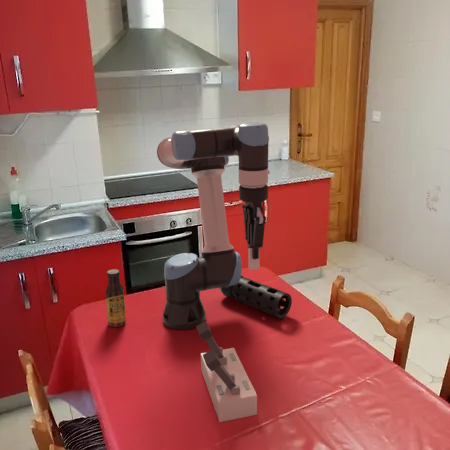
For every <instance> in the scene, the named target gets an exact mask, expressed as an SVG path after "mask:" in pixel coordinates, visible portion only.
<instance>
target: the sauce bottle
mask: <svg viewBox="0 0 450 450" xmlns="http://www.w3.org/2000/svg"><path fill="white" fill-rule="evenodd" d="M106 275H107V281H108V284H107V287H106V289H105V305H106V316H107V317H106V319H107V323H108V325H109V326H110V327H112V328H116V327H117V328H119V327H121V326H123V325H125V323H126V318H127V317H126V302H125V292H124V286H123V285H122V284H121V281H120V270H119V269H117V268H115V269H114V268H113V269H109V270H107V272H106Z"/></svg>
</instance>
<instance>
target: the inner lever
mask: <svg viewBox="0 0 450 450" xmlns="http://www.w3.org/2000/svg"><path fill="white" fill-rule="evenodd" d="M196 330H197V332H198V335H199V336H200V338H201V340H202V342H204V341H205V342H206V344H207V345H208V347H209V348H210V350H211V349H213V350H214V351H215V352H216V354H217V355H218V357H219V358H222V357H224V356H223V354H222V352H221V350H220V348H219V345H218V343H217V342H216V340H215V339H214V337H213V333H212V330H211V328H210V326H209V324H208V323H207V321H206V320H205V321H204V322H203V323H201V324H200V325H198V326H196Z"/></svg>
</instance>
